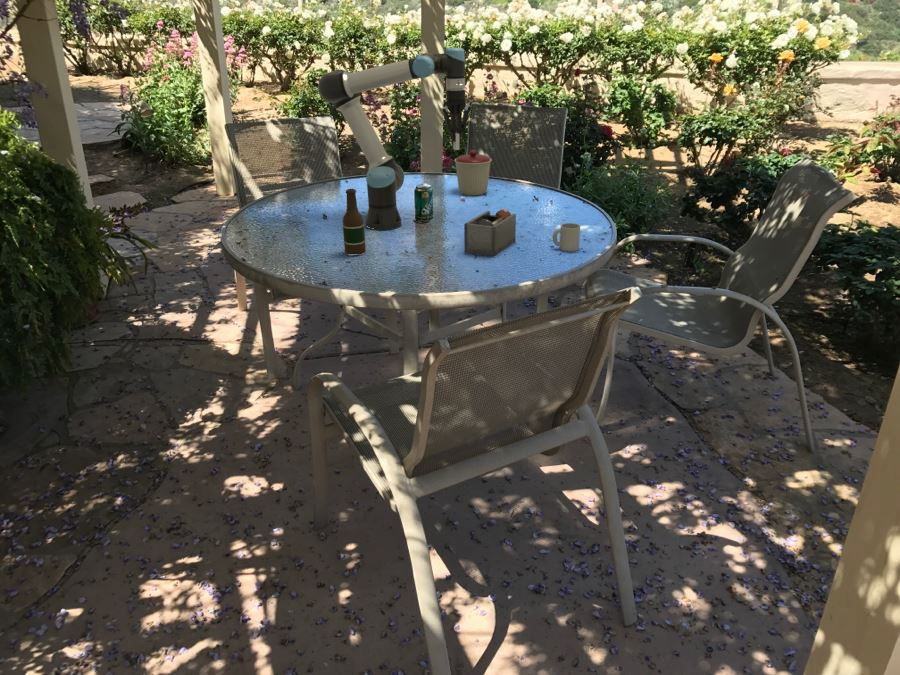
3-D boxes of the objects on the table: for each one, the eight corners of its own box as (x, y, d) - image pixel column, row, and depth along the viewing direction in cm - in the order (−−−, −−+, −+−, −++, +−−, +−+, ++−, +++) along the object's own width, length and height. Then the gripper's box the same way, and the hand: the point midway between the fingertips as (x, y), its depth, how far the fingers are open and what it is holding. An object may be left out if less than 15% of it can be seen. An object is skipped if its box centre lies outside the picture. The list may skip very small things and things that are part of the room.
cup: (580, 251, 260) (581, 228, 256) (553, 252, 260) (554, 228, 257) (577, 245, 267) (578, 223, 263) (551, 246, 267) (552, 223, 263)
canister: (447, 195, 342) (446, 151, 333) (467, 187, 356) (467, 145, 347) (479, 199, 333) (479, 154, 324) (498, 191, 346) (498, 148, 337)
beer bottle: (355, 248, 268) (351, 186, 258) (370, 252, 264) (366, 188, 254) (340, 253, 263) (335, 190, 253) (355, 257, 258) (350, 193, 248)
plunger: (494, 227, 277) (494, 207, 274) (513, 229, 274) (513, 209, 270) (474, 239, 263) (474, 218, 259) (493, 242, 259) (494, 221, 256)
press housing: (487, 238, 278) (487, 210, 273) (515, 241, 272) (516, 214, 268) (464, 252, 262) (464, 223, 257) (493, 256, 256) (494, 227, 252)
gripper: (444, 91, 276) (445, 152, 286) (474, 89, 281) (474, 149, 291) (437, 89, 282) (438, 149, 292) (466, 87, 287) (466, 146, 297)
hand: (456, 149), depth 291 cm, fingers closed
